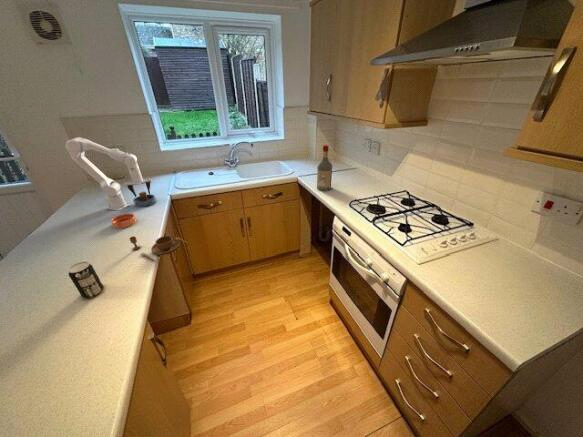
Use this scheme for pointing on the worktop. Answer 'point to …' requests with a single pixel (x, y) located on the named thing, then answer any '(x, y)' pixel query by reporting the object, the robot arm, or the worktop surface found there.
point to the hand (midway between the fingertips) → (142, 195)
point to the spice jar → (143, 196)
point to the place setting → (161, 245)
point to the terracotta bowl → (123, 221)
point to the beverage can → (85, 279)
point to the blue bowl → (149, 202)
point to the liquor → (324, 172)
